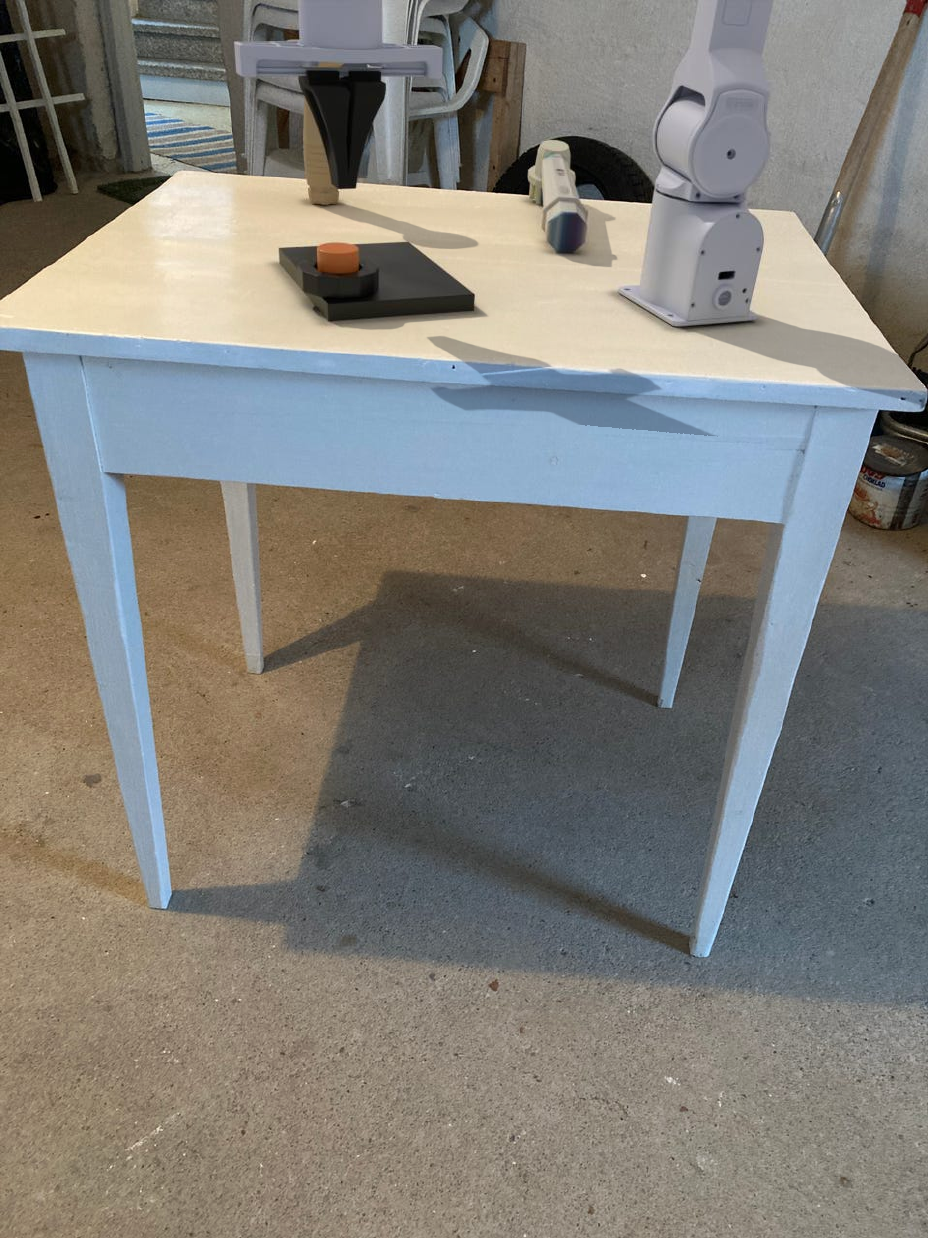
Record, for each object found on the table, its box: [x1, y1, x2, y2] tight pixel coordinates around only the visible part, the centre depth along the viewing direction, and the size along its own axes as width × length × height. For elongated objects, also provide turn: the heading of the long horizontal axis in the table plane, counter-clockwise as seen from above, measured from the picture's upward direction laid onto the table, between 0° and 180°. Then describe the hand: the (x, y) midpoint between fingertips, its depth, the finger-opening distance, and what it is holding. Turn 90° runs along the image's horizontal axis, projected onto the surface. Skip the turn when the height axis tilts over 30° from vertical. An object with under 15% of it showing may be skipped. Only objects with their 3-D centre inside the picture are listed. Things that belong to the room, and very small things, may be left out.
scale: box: [278, 241, 476, 322], centre depth 82 cm, size 16×13×3 cm
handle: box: [286, 39, 346, 206], centre depth 102 cm, size 5×6×15 cm
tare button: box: [317, 241, 359, 273], centre depth 76 cm, size 3×3×2 cm
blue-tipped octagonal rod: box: [527, 139, 589, 254], centre depth 104 cm, size 5×7×25 cm
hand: (343, 186), depth 74 cm, fingers closed
